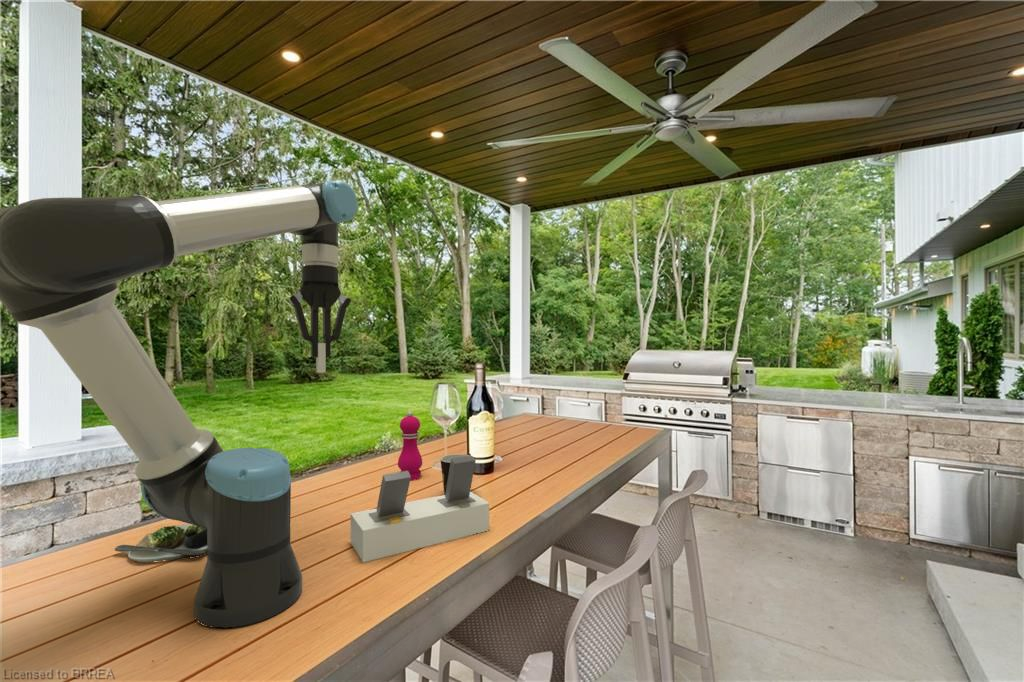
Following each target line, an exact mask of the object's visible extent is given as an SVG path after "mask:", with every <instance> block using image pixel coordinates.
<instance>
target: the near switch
mask: <svg viewBox="0 0 1024 682" xmlns="http://www.w3.org/2000/svg"><path fill="white" fill-rule="evenodd" d="M410 479H411V476H410V474H409V472H408V471H403V472H400V471H398V472H393V473H385V474H382V480H381V484H380V489H379V495H378V500H377V507H376V508H377V510H376V511H377V514H378V517H383V516H388V515H392V514H397V513H402V512H403V511H404V506H405V503H406V502H407V501H406V500H407V498H408V497H407V496H408V492H409V489H410V482H411V481H410Z"/></svg>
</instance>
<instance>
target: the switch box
mask: <svg viewBox="0 0 1024 682" xmlns="http://www.w3.org/2000/svg"><path fill="white" fill-rule="evenodd" d="M376 510H377V507H376V508H372V509H366V510H361V511H356V512H351V513H350V544H351V546H352V547H353V548H354V550H355V552H356V553H357V555H358V557H359V558H360V560H361V562H362V563H366V562H367V563H368V562H371V561H375V560H378V559H382V558H386V557H391V556H394V555H398V554H403V553H406V552H409V551H414V550H418V549H419V550H420V549H421V548H422V549H423V548H425V547H426V548H427V547H430V546H434V545H437V544H438V545H439V544H443V543H447V542H450V541H453V540H457V539H462V538H466V537H469V535H470V536H473V534H474V535H476V533H478V534H481V532H482V533H486V532H489V531H490V502H488V501H487V500H485V499H483V498H482V497H480V496H478V495H477V494H476V493H474V492H472V491H471V490H470V495H469V498H465V499H460V500H455V501H450V502H448V501H447V499H446V498H445V495H438V496H432V497H427V498H422V499H417V500H412V501H406V502H405V506H404V511H403V512H402V513H397V514H392V515H388V516H383V517H378V514H377V511H376ZM488 530H489V531H488ZM485 531H486V532H485Z"/></svg>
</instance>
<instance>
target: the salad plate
mask: <svg viewBox="0 0 1024 682" xmlns="http://www.w3.org/2000/svg"><path fill="white" fill-rule="evenodd" d="M114 552H118V553H125V554H127V557H128V558H129V559H131V560H133V561H135V562H138V563H146V562H154V561H163V560H171V561H174V560H173V559H181V560H183V559H182V558H188V559H191V558H190V557H195V558H197V557H196V556H199V557H201V556H200V555H203V556H205V555H204V554H206V555H207V529H206V528H203V527H199V526H196V525H192V524H189V523H185V524H181V525H180V524H179V525H167V526H161V527H159V529H157V530H154V531H152V532H150V533H146V535H145V536H144V537H143V538H141V540H140V541H139V542H138V543H137V544H136V545H131V544H129V545H128V544H120V545H117V546H115V548H114ZM163 562H164V561H163Z"/></svg>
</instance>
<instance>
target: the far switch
mask: <svg viewBox="0 0 1024 682" xmlns="http://www.w3.org/2000/svg"><path fill="white" fill-rule="evenodd" d="M475 467H476V459H475V458H474V456H473V455H469V456H467V457H461V458H454V459H451V463H450V469H449V475H448V481H447V487H446V494H445V498H446V499H447V501H448V502H450V501H455V500H460V499H465V498H469V495H470V491H471V488H472V483H473V477H474V472H475Z"/></svg>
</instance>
